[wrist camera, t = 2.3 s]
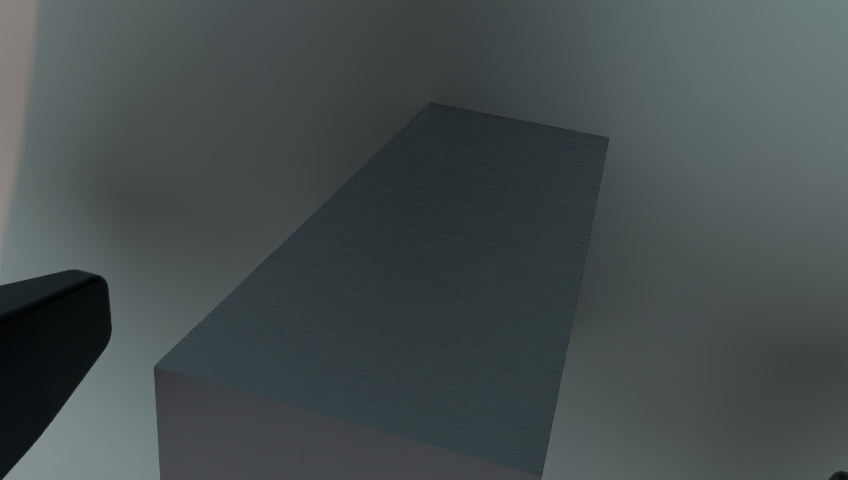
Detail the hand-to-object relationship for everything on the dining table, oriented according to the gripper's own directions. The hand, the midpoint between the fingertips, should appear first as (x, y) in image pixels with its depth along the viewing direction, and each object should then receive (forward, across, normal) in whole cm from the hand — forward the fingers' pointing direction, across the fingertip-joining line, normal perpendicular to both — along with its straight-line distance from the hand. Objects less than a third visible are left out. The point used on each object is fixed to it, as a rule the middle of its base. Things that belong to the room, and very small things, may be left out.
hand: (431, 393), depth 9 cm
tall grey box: (+5, 0, 0) cm, 5 cm away
